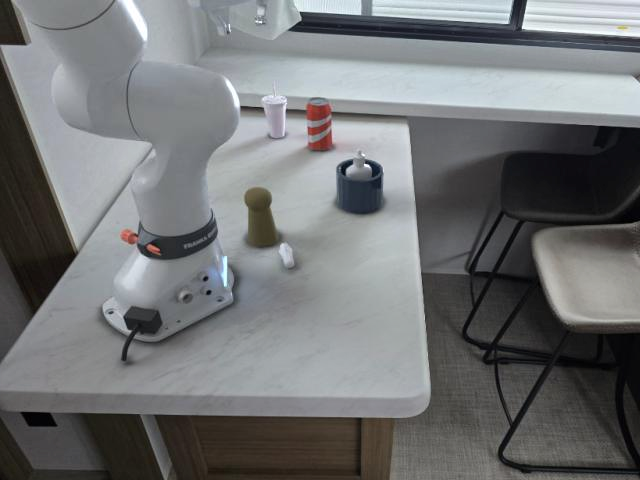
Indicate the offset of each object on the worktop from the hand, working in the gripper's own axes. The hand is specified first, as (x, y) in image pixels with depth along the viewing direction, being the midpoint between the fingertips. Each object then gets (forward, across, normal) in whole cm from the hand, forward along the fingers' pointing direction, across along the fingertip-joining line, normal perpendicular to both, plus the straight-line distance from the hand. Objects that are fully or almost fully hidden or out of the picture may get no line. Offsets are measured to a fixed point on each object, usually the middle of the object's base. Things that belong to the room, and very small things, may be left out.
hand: (243, 30), depth 105 cm
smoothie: (+32, +22, +19) cm, 43 cm away
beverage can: (+33, +24, +6) cm, 41 cm away
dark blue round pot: (+36, +9, -18) cm, 41 cm away
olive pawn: (+35, -14, -11) cm, 40 cm away
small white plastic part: (+36, -17, -20) cm, 45 cm away
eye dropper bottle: (+35, +9, -18) cm, 40 cm away
